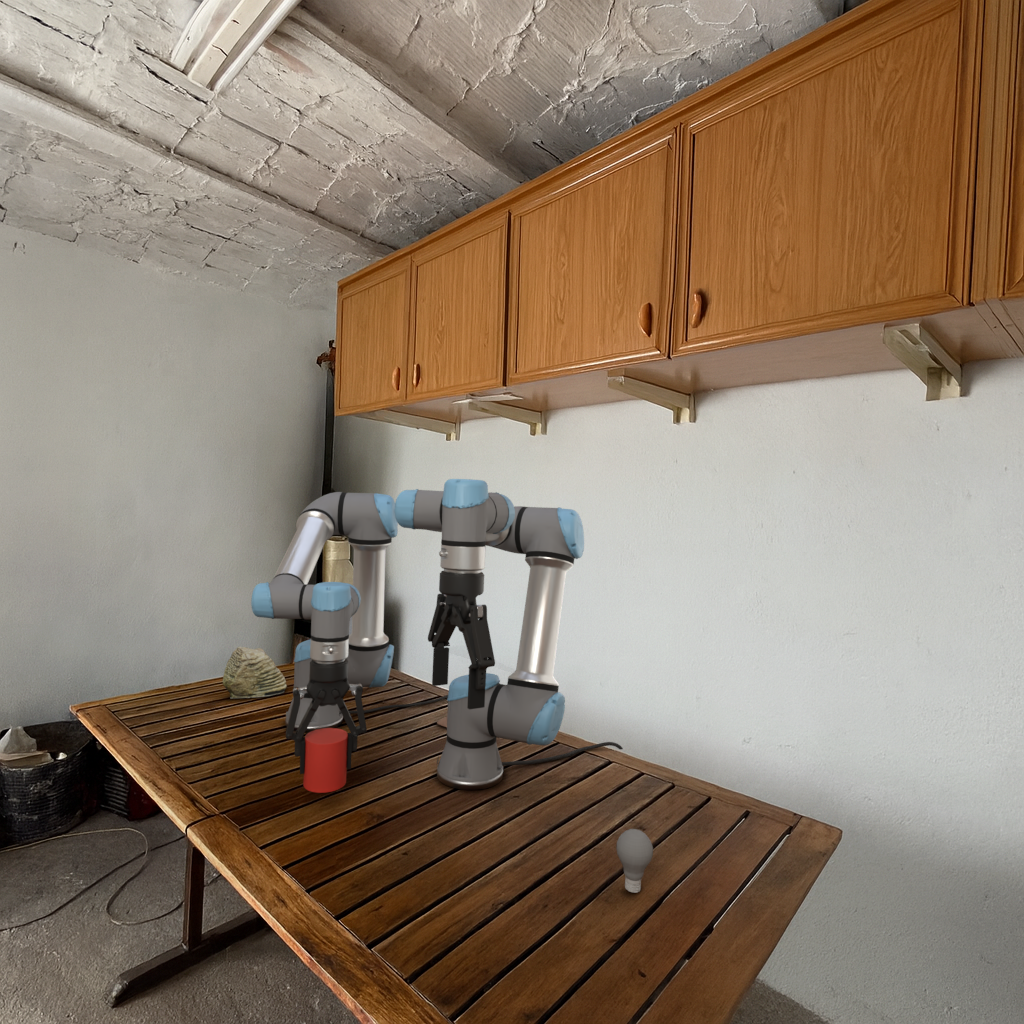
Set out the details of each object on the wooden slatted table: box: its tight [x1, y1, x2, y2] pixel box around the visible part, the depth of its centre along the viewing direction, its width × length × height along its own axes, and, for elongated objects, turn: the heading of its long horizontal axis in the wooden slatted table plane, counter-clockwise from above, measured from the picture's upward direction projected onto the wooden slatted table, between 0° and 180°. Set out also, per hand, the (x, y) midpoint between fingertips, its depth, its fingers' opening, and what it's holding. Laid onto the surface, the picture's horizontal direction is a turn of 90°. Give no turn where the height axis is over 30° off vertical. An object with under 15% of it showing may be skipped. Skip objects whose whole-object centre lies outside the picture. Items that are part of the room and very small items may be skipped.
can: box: [302, 727, 349, 794], centre depth 129 cm, size 8×8×10 cm
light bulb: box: [615, 828, 654, 894], centre depth 106 cm, size 6×6×10 cm
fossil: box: [222, 646, 288, 699], centre depth 198 cm, size 9×18×15 cm, turn 132°
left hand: (325, 768), depth 130 cm, fingers closed on can, 8 cm apart
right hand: (456, 695), depth 107 cm, fingers open, 13 cm apart
